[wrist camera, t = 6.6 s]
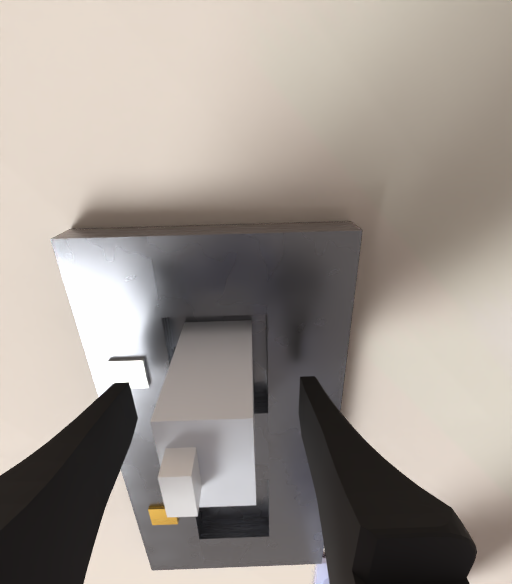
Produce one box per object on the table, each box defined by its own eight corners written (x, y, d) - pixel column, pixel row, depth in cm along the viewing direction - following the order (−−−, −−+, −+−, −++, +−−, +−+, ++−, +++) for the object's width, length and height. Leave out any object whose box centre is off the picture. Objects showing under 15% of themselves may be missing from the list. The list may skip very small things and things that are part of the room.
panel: (351, 221, 14) (364, 231, 12) (317, 539, 24) (322, 567, 23) (69, 229, 14) (47, 240, 12) (157, 546, 24) (151, 573, 22)
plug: (251, 320, 15) (253, 446, 9) (253, 390, 17) (257, 535, 11) (184, 322, 15) (140, 449, 9) (194, 392, 17) (163, 538, 11)
